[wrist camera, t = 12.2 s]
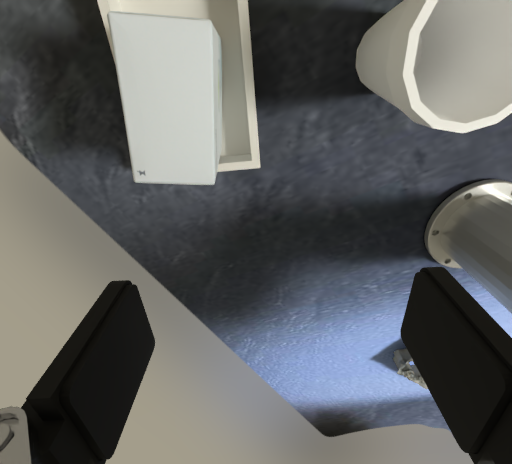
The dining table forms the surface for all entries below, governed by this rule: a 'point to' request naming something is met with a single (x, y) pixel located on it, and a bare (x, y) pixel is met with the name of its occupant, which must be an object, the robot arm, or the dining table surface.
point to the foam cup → (442, 61)
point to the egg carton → (407, 367)
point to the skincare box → (169, 95)
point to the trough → (233, 68)
